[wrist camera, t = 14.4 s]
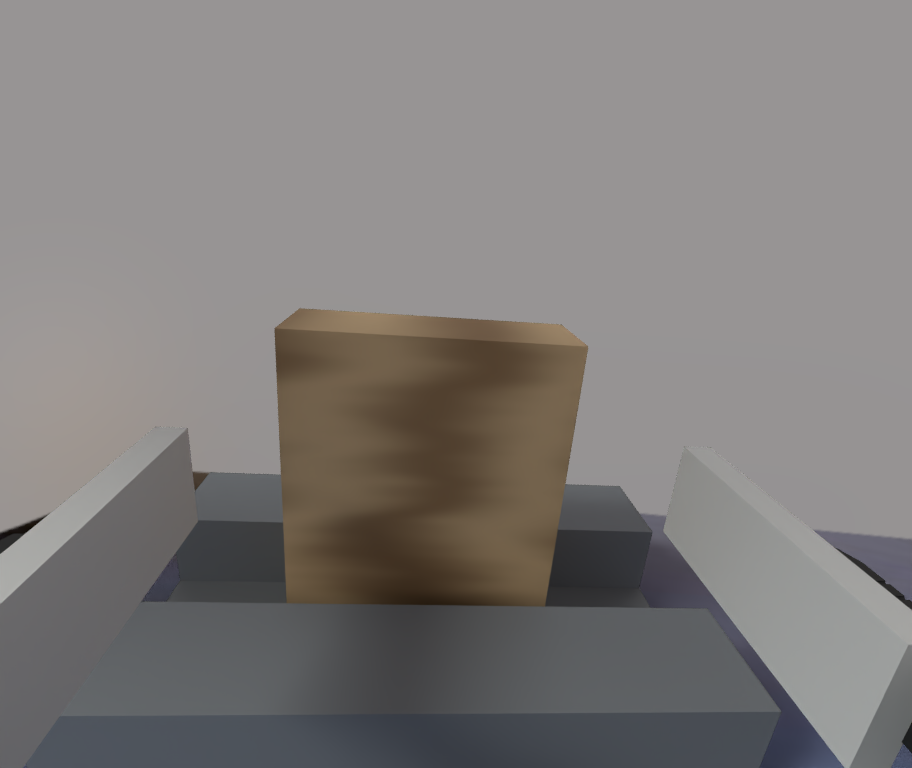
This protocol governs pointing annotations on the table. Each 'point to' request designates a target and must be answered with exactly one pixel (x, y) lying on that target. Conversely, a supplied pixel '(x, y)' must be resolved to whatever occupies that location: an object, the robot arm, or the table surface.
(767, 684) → the table surface
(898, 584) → the table surface
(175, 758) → the grooved sill
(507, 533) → the oak plank
